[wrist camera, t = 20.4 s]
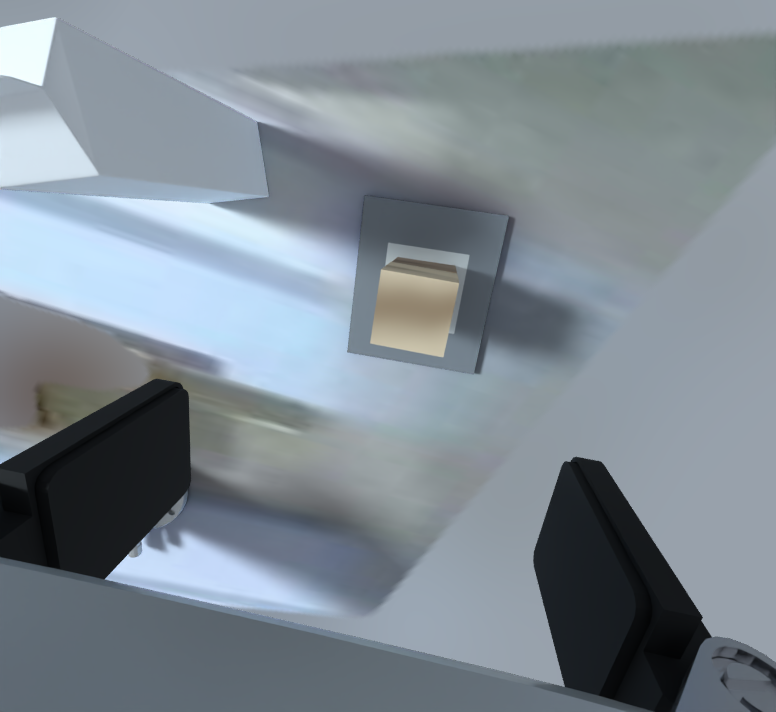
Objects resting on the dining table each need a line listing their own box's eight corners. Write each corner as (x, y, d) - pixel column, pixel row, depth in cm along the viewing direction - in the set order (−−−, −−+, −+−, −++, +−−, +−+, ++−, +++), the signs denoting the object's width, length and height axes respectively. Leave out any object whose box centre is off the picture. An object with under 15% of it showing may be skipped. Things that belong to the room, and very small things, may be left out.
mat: (473, 372, 39) (473, 374, 38) (348, 350, 40) (347, 352, 39) (508, 216, 34) (509, 215, 33) (365, 195, 35) (364, 195, 34)
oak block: (443, 337, 32) (443, 357, 27) (380, 325, 32) (370, 343, 28) (457, 273, 30) (459, 283, 26) (390, 261, 31) (381, 269, 26)
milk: (270, 197, 36) (37, 172, 15) (206, 203, 37) (-96, 188, 16) (257, 119, 34) (-28, -30, 13) (190, 127, 35) (-175, 0, 14)
